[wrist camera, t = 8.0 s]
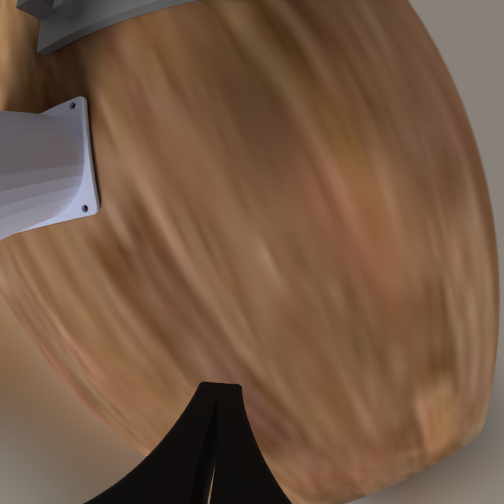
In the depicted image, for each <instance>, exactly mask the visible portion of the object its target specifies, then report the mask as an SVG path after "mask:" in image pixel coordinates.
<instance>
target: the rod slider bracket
mask: <svg viewBox="0 0 504 504" xmlns="http://www.w3.org/2000/svg"><path fill="white" fill-rule="evenodd" d="M194 1H199V0H18V2H17V6H16V8H17V9H20V10H22V11H24V12H26V13H28V14H30V15H32V16H34V17H36V18H38V19H40V20H41V21H40V28H39V35H38V44H37V53H40V54H43V55H45V56H46V55H48V54H50V53H52V52H54V51H55V50H57V49H59V48H61V47H63V46H65V45H67V44H69V43H71V42H73V41H75V40H78V39H80V38H82V37H84V36H86V35H89V34H91V33H93V32H96V31H98V30H100V29H103V28H105V27H108V26H111V25H113V24H116V23H119V22H121V21H124V20H127V19H130V18H133V17H136V16H139V15H142V14H146V13H149V12H153V11H156V10H160V9H163V8H167V7H171V6H175V5H180V4H184V3H189V2H194Z"/></svg>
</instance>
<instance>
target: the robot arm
mask: <svg viewBox="0 0 504 504" xmlns="http://www.w3.org/2000/svg"><path fill="white" fill-rule="evenodd" d="M74 103H75V107H74V109H73V108H72V107H73V104H74ZM85 205H87V207H88V211H86V210H85ZM99 208H100V205H99V199H98V193H97V187H96V181H95V175H94V168H93V161H92V153H91V144H90V134H89V123H88V110H87V99H86V98H85V97H82V96H78V97H76V98H73V99H71V100H69V101H66V102H64V103H62V104H60V105H57V106H55V107H53V108H51V109H49V110H47V111H45V112H43V113H41V114H35V113H25V112H14V111H0V240H1V239H3V238H5V237H8V236H10V235H12V234H15V233H18V232H21V231H25V230H29V229H33V228H37V227H41V226H45V225H49V224H53V223H58V222H62V221H66V220H71V219H75V218H80V217H84V216H89V215H93V214H95V213H97V212H98V211H99ZM214 468H215V471H214ZM213 472H214V478H213V485H212V491H211V498H210V504H292V503H291V502H290V500H289V499H288V498H287V496H286V495H285V494H284V492H283V491H282V489H281V488H280V486H279V484H278V483H277V481H276V480H275V478H274V476H273V475H272V473H271V471H270V469H269V468H268V466H267V464H266V462H265V460H264V458H263V456H262V454H261V452H260V449H259V447H258V445H257V443H256V440H255V438H254V435H253V432H252V430H251V427H250V424H249V421H248V418H247V415H246V411H245V407H244V402H243V396H242V387H241V386H240V385H239V384H226V383H213V382H201V383H200V384H199V386H198V388H197V390H196V392H195V394H194V396H193V397H192V399H191V401H190V402H189V404H188V406H187V407H186V409H185V410H184V412H183V413H182V415H181V416H180V418H179V419H178V420H177V422H176V423H175V425H174V426H173V427H172V429H171V430H170V431H169V432H168V434H167V435H166V436H165V437H164V438H163V440H162V441H161V442H160V443H159V444H158V445H157V447H156V448H155V449H154V450H153V451H152V452H151V453H150V454H149V455H148V456H147V457H146V458H145V459H144V460H143V461H142V462H141V463H140V464H139V465H138V466H137V467H135V468H134V469H133V470H132V471H131V472H130V473H128V474H127V475H126V476H125V477H124V478H122V479H121V480H120V481H118V482H117V483H116V484H114V485H113V486H111V487H110V488H108V489H107V490H105V491H104V492H103V493H101V494H100V495H98V496H96V497H95V498H93V499H91V500H89V501H88V502H86V503H84V504H207V503H208V497H209V491H210V487H211V482H212V477H213Z"/></svg>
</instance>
